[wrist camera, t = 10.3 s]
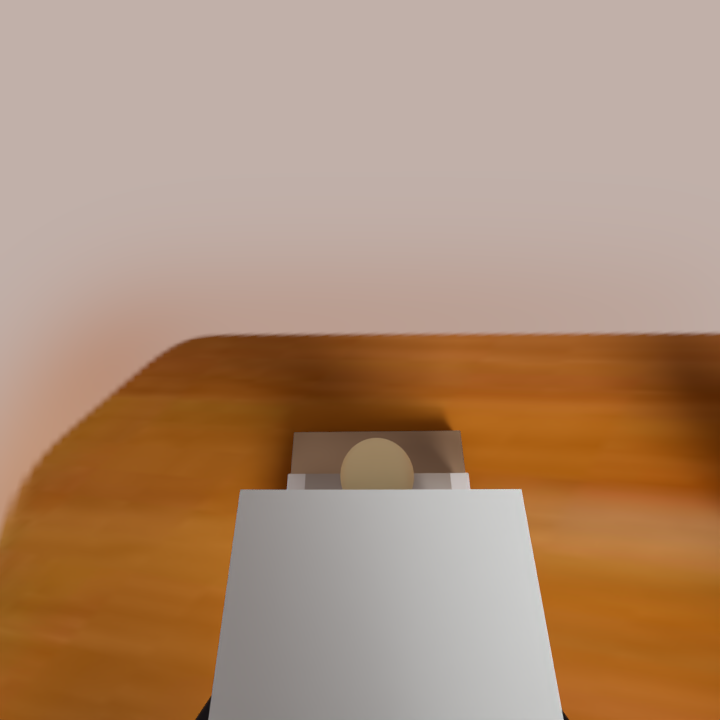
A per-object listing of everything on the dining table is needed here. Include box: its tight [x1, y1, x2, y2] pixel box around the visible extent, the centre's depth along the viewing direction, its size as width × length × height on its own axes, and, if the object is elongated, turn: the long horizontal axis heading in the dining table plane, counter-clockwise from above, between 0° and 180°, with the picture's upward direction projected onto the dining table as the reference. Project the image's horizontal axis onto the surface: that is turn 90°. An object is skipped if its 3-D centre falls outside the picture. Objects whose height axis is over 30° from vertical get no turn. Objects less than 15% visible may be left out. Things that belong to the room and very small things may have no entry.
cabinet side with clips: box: [287, 431, 470, 490], centre depth 15 cm, size 14×9×4 cm, turn 0°
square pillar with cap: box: [208, 438, 564, 720], centre depth 8 cm, size 7×5×12 cm
